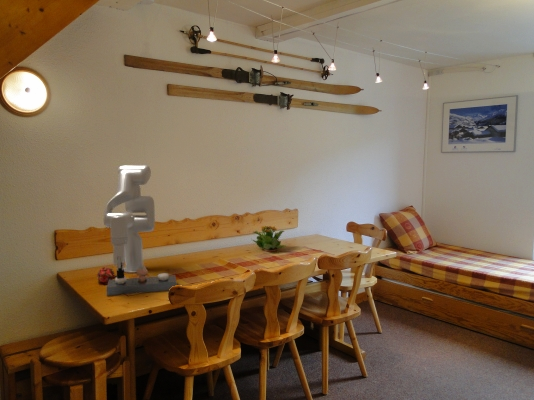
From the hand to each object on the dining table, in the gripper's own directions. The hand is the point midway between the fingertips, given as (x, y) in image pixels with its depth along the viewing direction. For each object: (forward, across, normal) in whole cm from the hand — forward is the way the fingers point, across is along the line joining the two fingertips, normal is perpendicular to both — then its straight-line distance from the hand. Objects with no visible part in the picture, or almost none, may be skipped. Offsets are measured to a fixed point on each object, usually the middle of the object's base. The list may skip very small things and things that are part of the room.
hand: (120, 277), depth 200 cm
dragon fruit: (+7, -16, -8) cm, 19 cm away
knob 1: (+6, 0, 0) cm, 7 cm away
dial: (+3, 0, +10) cm, 11 cm away
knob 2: (+6, 0, +20) cm, 21 cm away
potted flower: (+6, -62, +94) cm, 113 cm away
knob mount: (+6, 0, +10) cm, 12 cm away
